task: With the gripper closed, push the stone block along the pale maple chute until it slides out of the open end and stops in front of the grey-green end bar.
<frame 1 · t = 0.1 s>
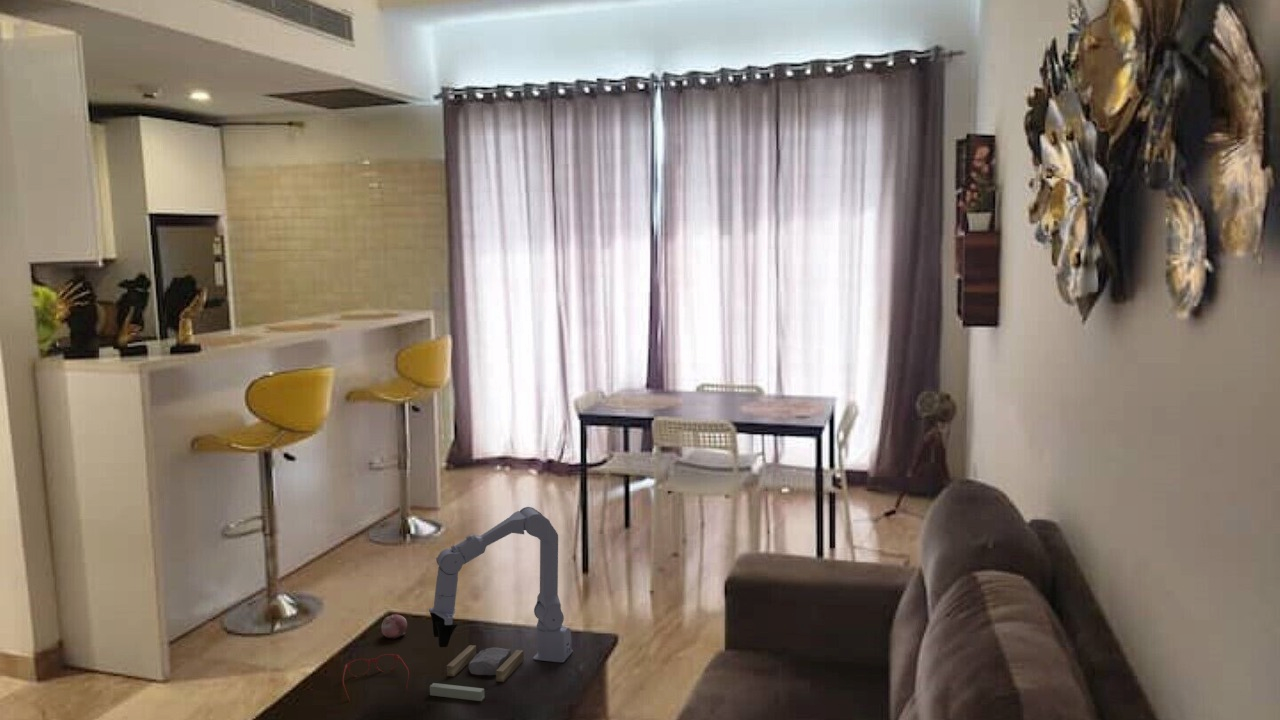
hand: (440, 641, 256), 11 cm above the table, tool pointing down, fingers open, 7 cm apart
onion: (395, 636, 288), on the table
stone block: (489, 667, 264), on the table
chute rail right: (510, 670, 261), on the table
end bar: (457, 696, 246), on the table
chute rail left: (462, 665, 265), on the table
red eyeglasses: (375, 685, 255), on the table
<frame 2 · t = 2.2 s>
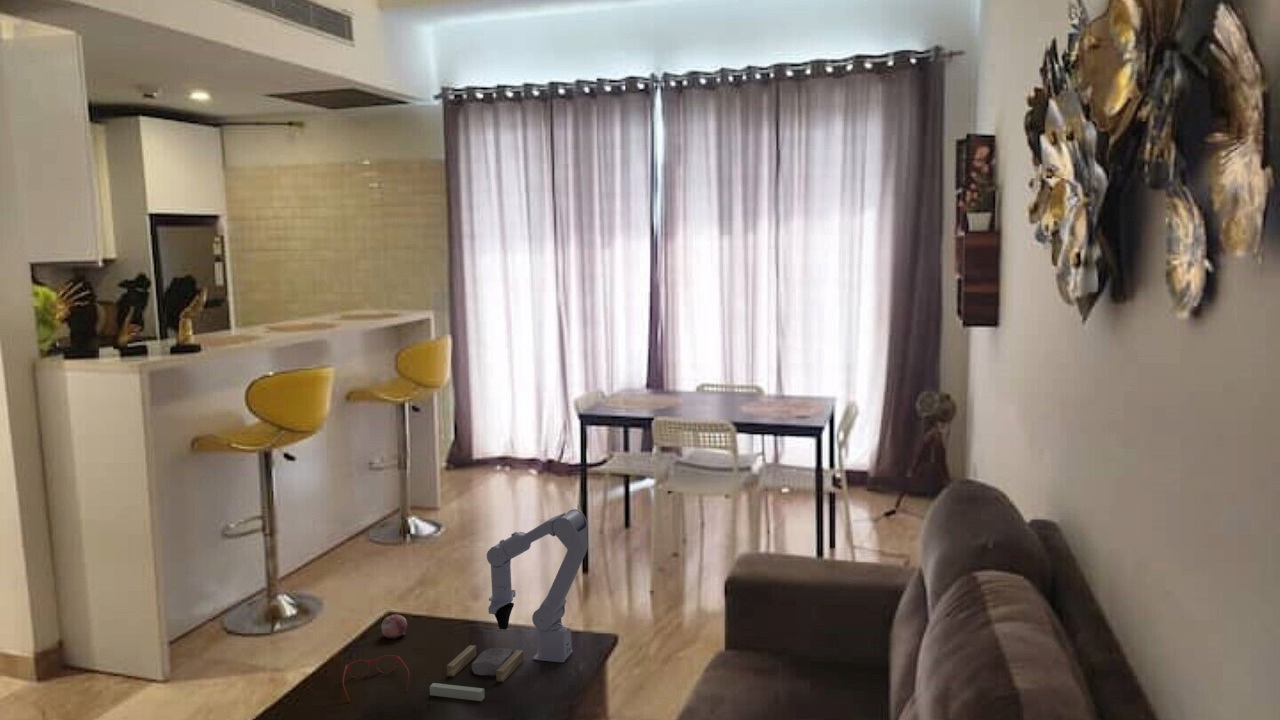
hand: (503, 628, 274), 7 cm above the table, tool pointing down, fingers closed
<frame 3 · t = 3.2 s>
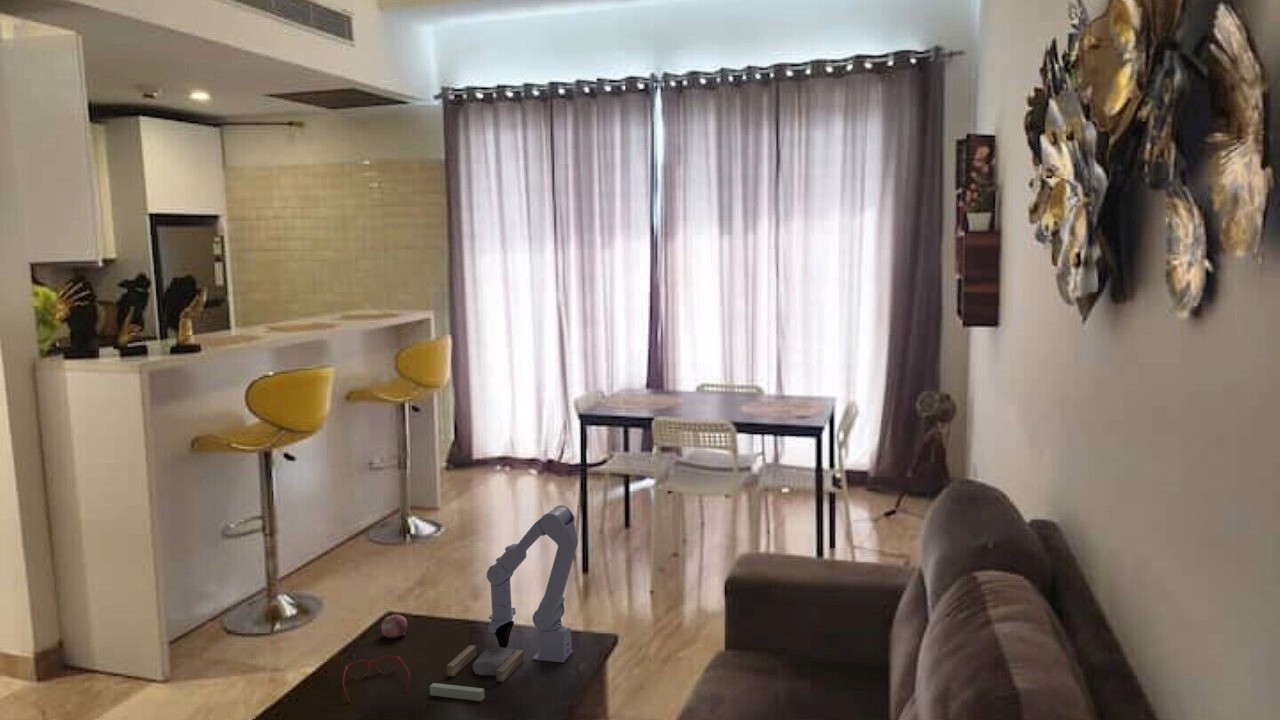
hand: (503, 646, 274), 1 cm above the table, tool pointing down, fingers closed
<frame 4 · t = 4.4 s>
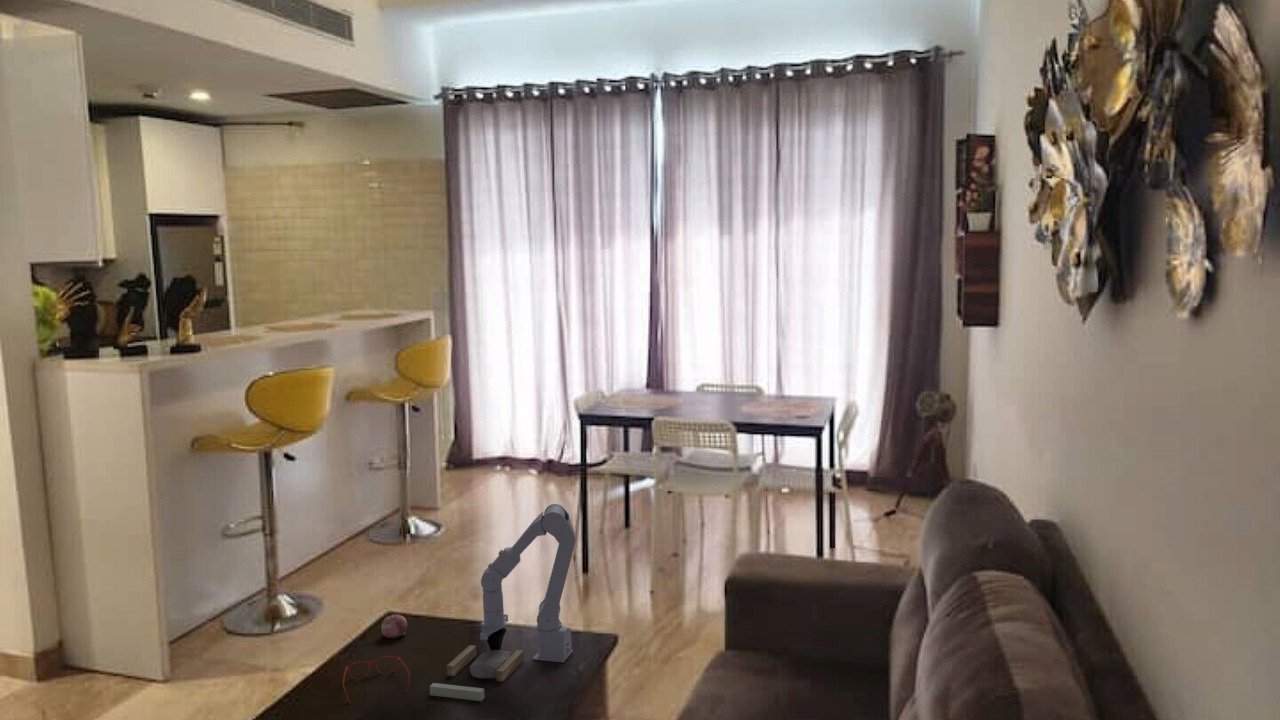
hand: (495, 654, 269), 1 cm above the table, tool pointing down, fingers closed
stone block: (490, 670, 262), on the table
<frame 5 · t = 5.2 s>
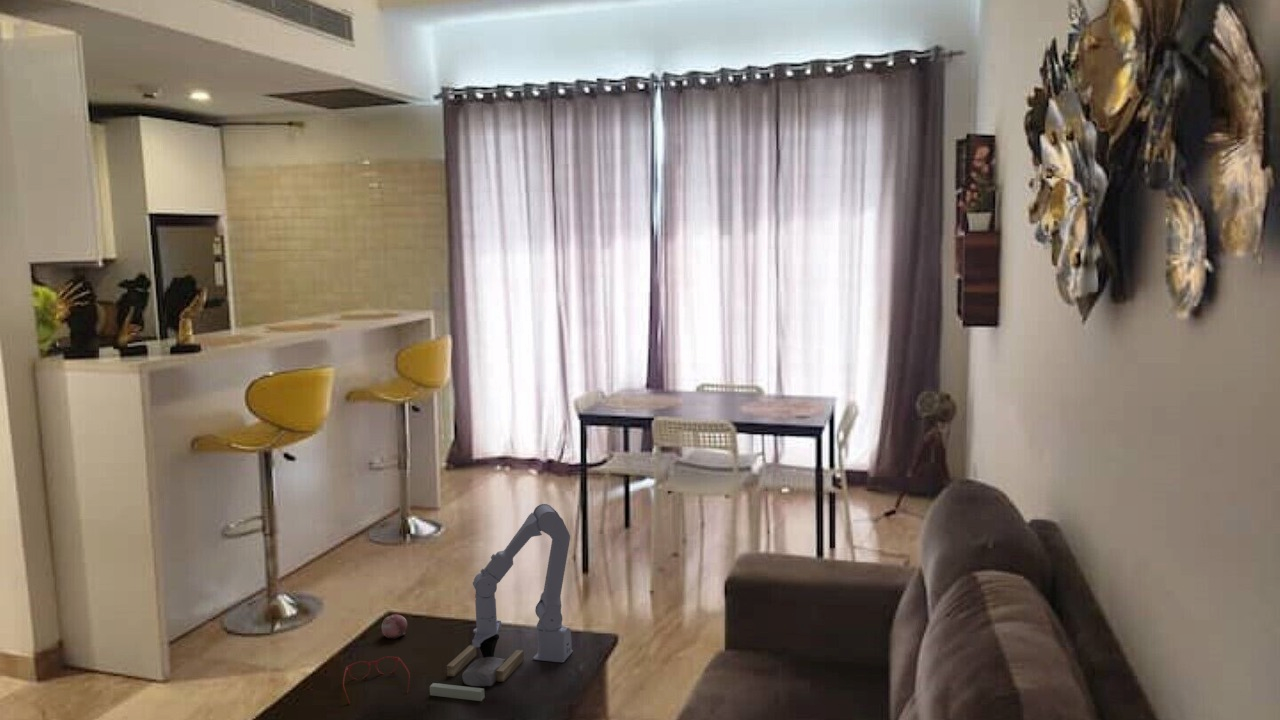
hand: (488, 661, 264), 1 cm above the table, tool pointing down, fingers closed
stone block: (483, 677, 258), on the table, touching gripper
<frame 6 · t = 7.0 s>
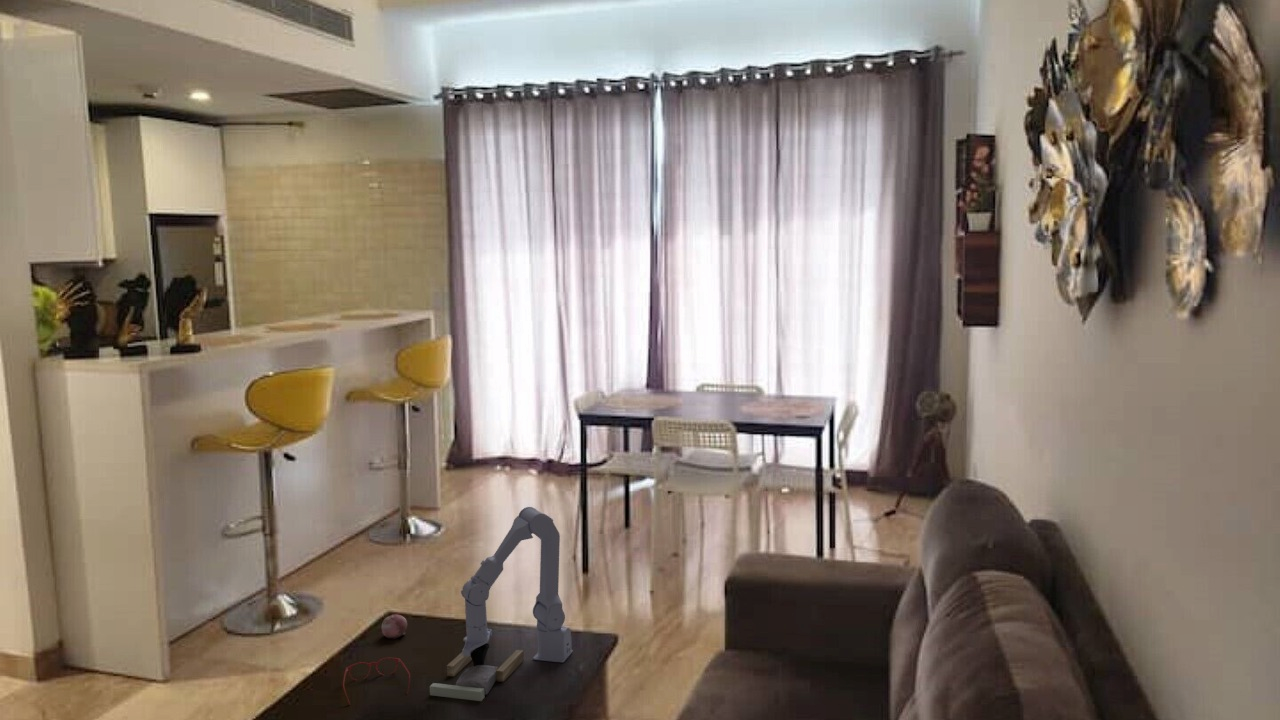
hand: (479, 670, 259), 1 cm above the table, tool pointing down, fingers closed, pressing on stone block
stone block: (476, 686, 252), on the table, touching chute rail right, end bar, gripper
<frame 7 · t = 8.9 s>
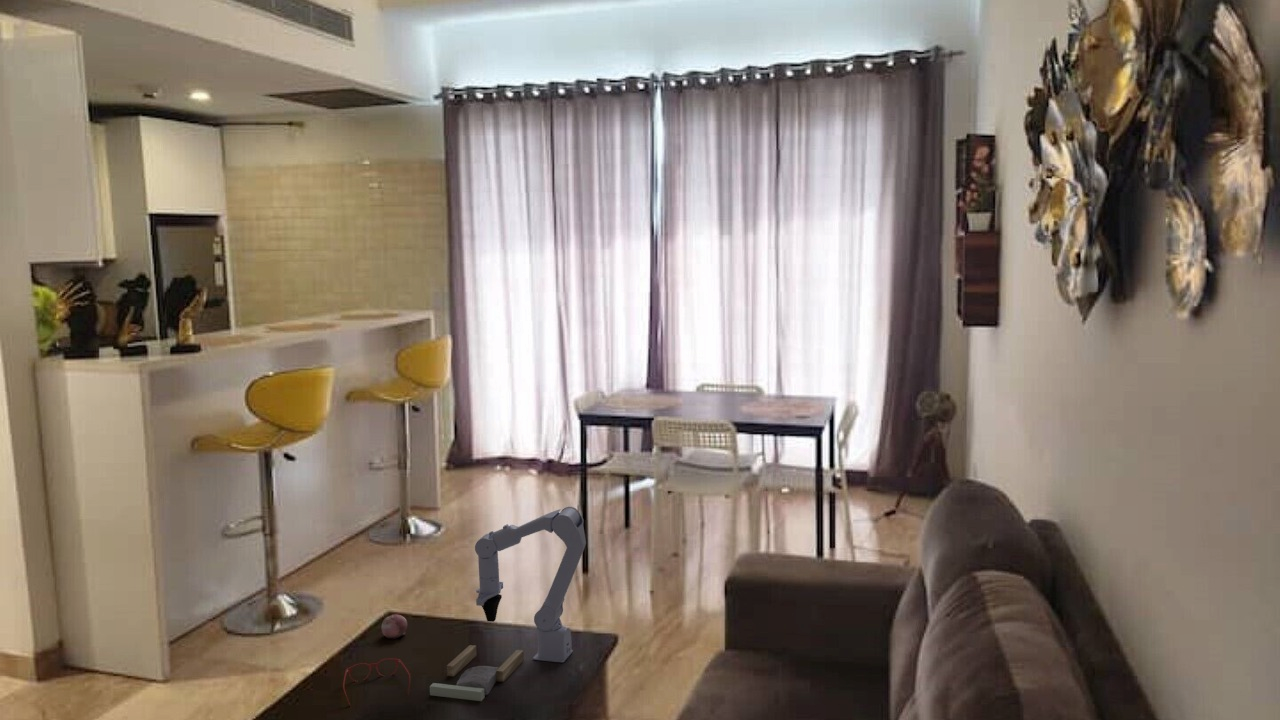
hand: (491, 620, 272), 10 cm above the table, tool pointing down, fingers closed
stone block: (476, 687, 252), on the table
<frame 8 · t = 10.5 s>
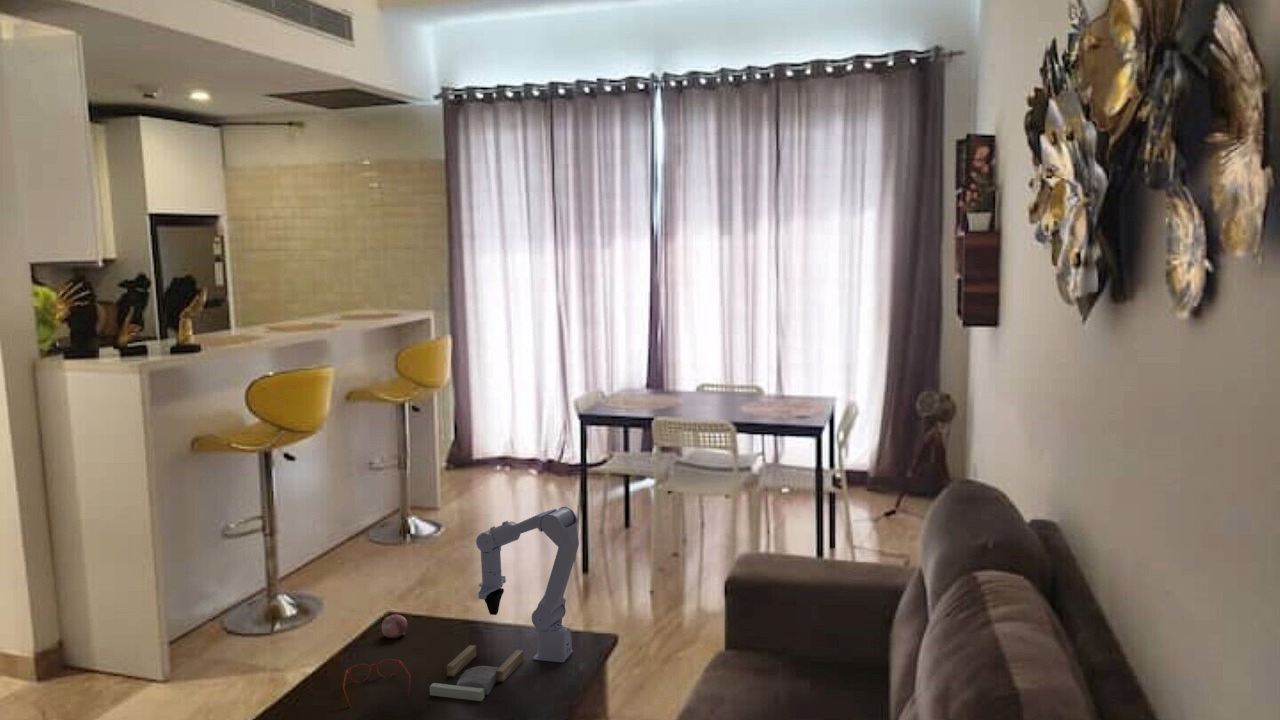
hand: (493, 613, 277), 10 cm above the table, tool pointing down, fingers closed
at the end: stone block inside the target area (2.6 cm from its centre), on the table; stone block moved 12.1 cm from its start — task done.
